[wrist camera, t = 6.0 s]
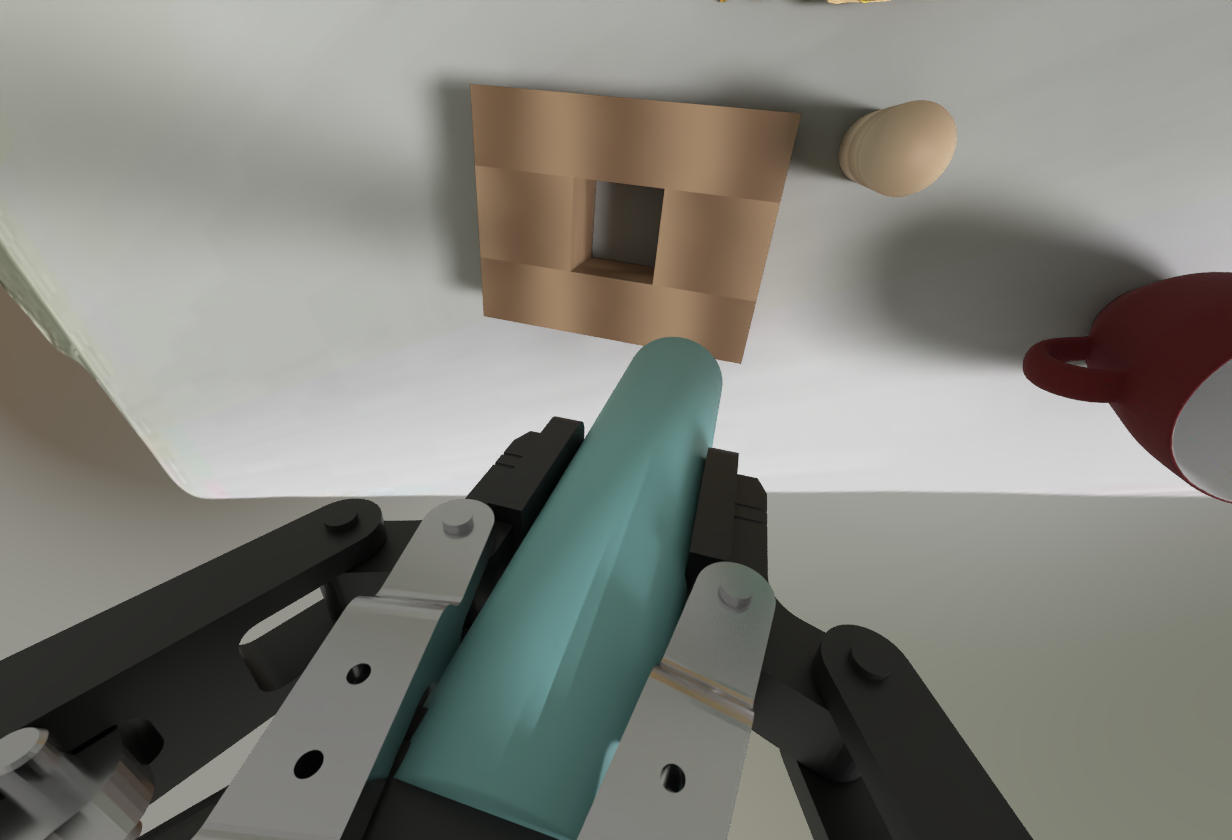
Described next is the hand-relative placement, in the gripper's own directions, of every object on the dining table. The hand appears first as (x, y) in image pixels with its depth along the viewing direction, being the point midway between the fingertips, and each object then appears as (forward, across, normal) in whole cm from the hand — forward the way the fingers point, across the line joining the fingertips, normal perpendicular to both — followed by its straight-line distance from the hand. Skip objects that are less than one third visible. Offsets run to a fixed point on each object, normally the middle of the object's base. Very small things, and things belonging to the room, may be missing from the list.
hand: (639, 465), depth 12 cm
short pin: (+20, -7, -7) cm, 23 cm away
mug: (+21, -21, 0) cm, 29 cm away
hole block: (+21, +5, -2) cm, 21 cm away
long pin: (+5, 0, 0) cm, 5 cm away
